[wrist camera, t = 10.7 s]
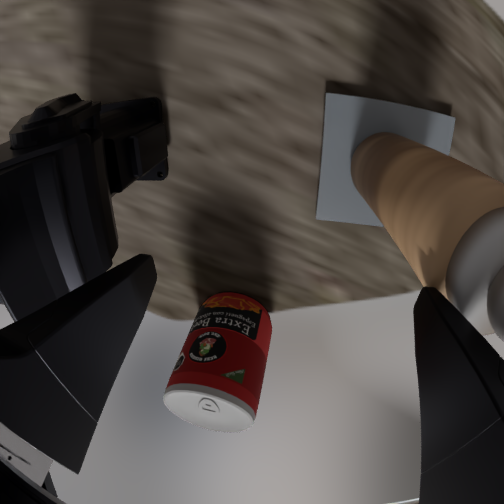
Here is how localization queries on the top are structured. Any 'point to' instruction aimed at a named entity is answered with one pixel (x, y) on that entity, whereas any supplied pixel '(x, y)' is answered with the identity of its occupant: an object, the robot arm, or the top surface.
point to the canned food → (222, 365)
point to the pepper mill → (439, 221)
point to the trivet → (353, 133)
